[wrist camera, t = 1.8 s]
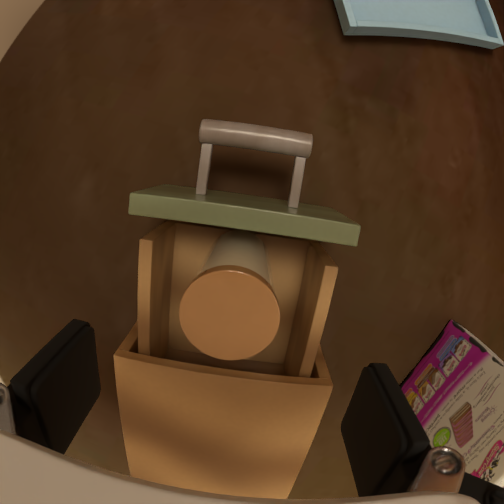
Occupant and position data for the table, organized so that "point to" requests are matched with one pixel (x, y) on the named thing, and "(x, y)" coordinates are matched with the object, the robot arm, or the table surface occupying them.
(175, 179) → the table surface
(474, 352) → the candy bar box
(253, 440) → the cabinet
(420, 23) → the tray
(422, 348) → the table surface
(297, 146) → the drawer
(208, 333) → the spice pot
